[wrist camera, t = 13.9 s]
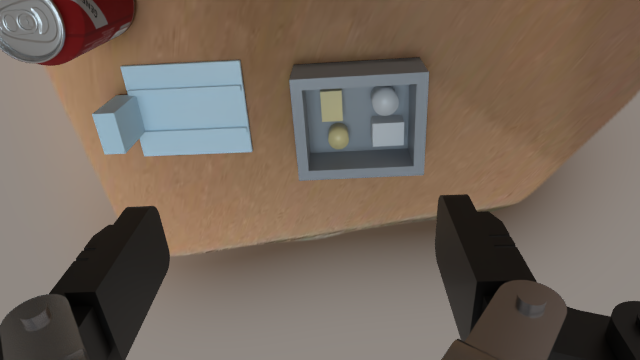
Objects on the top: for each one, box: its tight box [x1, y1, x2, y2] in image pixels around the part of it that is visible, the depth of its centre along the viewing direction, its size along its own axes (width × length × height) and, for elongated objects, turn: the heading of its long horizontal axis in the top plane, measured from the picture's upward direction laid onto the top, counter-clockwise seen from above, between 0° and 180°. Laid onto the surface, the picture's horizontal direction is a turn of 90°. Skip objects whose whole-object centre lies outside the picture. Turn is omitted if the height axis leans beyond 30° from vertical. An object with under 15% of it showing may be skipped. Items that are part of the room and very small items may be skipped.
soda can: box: [0, 0, 135, 66], centre depth 36 cm, size 7×7×12 cm
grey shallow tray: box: [289, 57, 429, 181], centre depth 44 cm, size 10×12×5 cm
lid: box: [92, 60, 253, 156], centre depth 44 cm, size 10×13×6 cm
